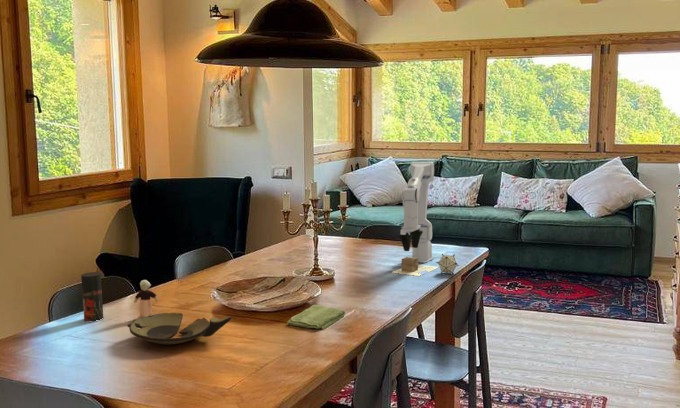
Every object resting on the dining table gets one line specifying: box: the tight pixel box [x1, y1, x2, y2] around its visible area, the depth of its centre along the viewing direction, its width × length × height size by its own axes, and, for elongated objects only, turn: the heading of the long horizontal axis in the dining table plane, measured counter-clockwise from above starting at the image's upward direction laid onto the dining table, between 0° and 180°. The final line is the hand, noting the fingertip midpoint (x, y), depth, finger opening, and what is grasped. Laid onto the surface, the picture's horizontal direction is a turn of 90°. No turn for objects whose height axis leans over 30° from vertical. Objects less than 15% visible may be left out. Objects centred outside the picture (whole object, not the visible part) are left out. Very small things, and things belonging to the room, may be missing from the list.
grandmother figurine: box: [133, 279, 159, 319], centre depth 217 cm, size 8×4×13 cm, turn 105°
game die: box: [436, 253, 460, 275], centre depth 271 cm, size 9×8×10 cm
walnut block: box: [401, 256, 419, 272], centre depth 277 cm, size 5×5×5 cm
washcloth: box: [286, 304, 346, 331], centre depth 212 cm, size 13×18×3 cm
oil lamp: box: [126, 312, 233, 345], centre depth 194 cm, size 22×30×8 cm
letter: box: [391, 264, 440, 277], centre depth 278 cm, size 18×13×1 cm
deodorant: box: [80, 271, 104, 322], centre depth 216 cm, size 6×6×15 cm
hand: (410, 249), depth 276 cm, fingers open, 7 cm apart
